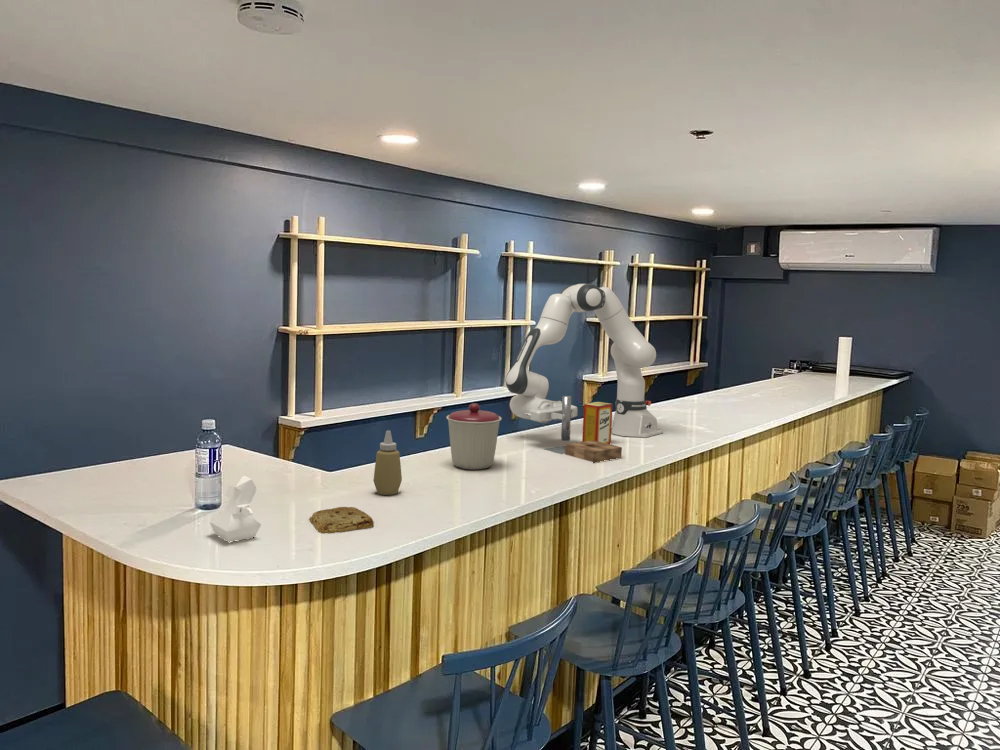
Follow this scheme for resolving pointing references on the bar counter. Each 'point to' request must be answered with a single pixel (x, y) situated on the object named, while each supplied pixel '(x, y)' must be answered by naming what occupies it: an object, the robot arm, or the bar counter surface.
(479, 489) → the bar counter surface
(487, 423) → the canister
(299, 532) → the bar counter surface
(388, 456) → the squeeze bottle
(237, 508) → the white faceted figurine
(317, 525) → the pastry
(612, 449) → the hole block
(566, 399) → the pin
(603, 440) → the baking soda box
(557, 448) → the mat
